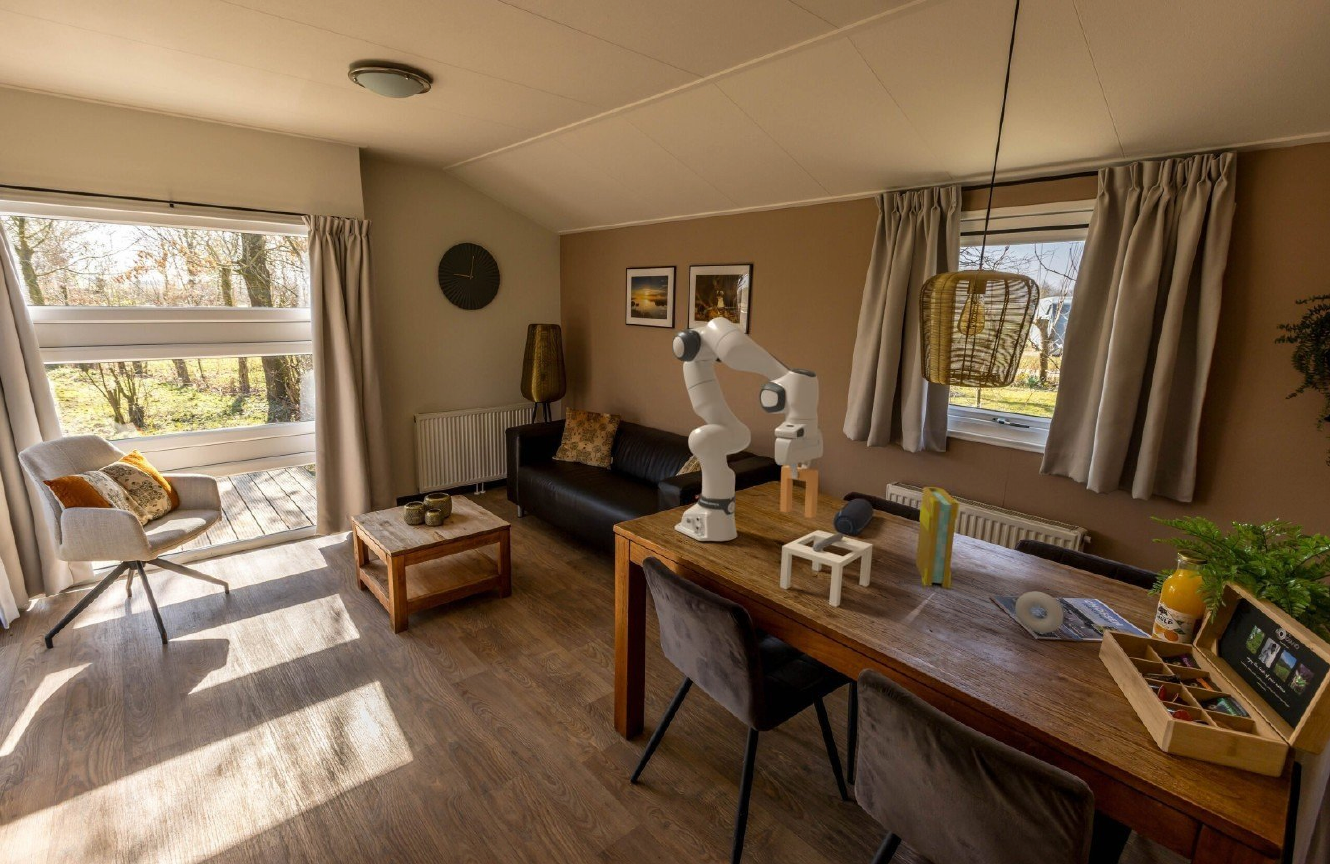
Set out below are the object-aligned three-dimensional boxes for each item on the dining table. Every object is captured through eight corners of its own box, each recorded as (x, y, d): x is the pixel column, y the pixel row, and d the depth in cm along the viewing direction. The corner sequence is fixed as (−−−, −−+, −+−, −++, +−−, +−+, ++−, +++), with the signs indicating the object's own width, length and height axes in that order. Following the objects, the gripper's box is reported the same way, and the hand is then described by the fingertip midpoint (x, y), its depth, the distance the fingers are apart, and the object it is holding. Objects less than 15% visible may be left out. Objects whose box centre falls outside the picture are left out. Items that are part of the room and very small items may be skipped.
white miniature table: (779, 587, 166) (782, 539, 163) (815, 567, 180) (818, 523, 178) (836, 606, 154) (840, 555, 152) (869, 584, 169) (873, 537, 167)
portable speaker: (847, 519, 230) (849, 494, 228) (874, 523, 225) (876, 498, 223) (829, 537, 209) (831, 509, 207) (858, 542, 204) (860, 514, 202)
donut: (1061, 635, 142) (1067, 596, 140) (1059, 641, 139) (1064, 601, 138) (1014, 621, 149) (1019, 584, 147) (1011, 626, 146) (1016, 588, 144)
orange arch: (780, 511, 170) (781, 466, 168) (785, 509, 172) (787, 465, 171) (811, 517, 164) (812, 471, 162) (816, 515, 166) (818, 470, 164)
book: (949, 588, 168) (959, 502, 164) (924, 585, 169) (933, 500, 165) (935, 565, 184) (943, 487, 180) (912, 563, 186) (920, 486, 182)
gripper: (810, 423, 174) (808, 469, 176) (771, 430, 159) (769, 480, 161) (829, 425, 170) (827, 472, 172) (791, 432, 155) (789, 484, 157)
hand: (799, 476), depth 167 cm, fingers closed on orange arch, 3 cm apart
